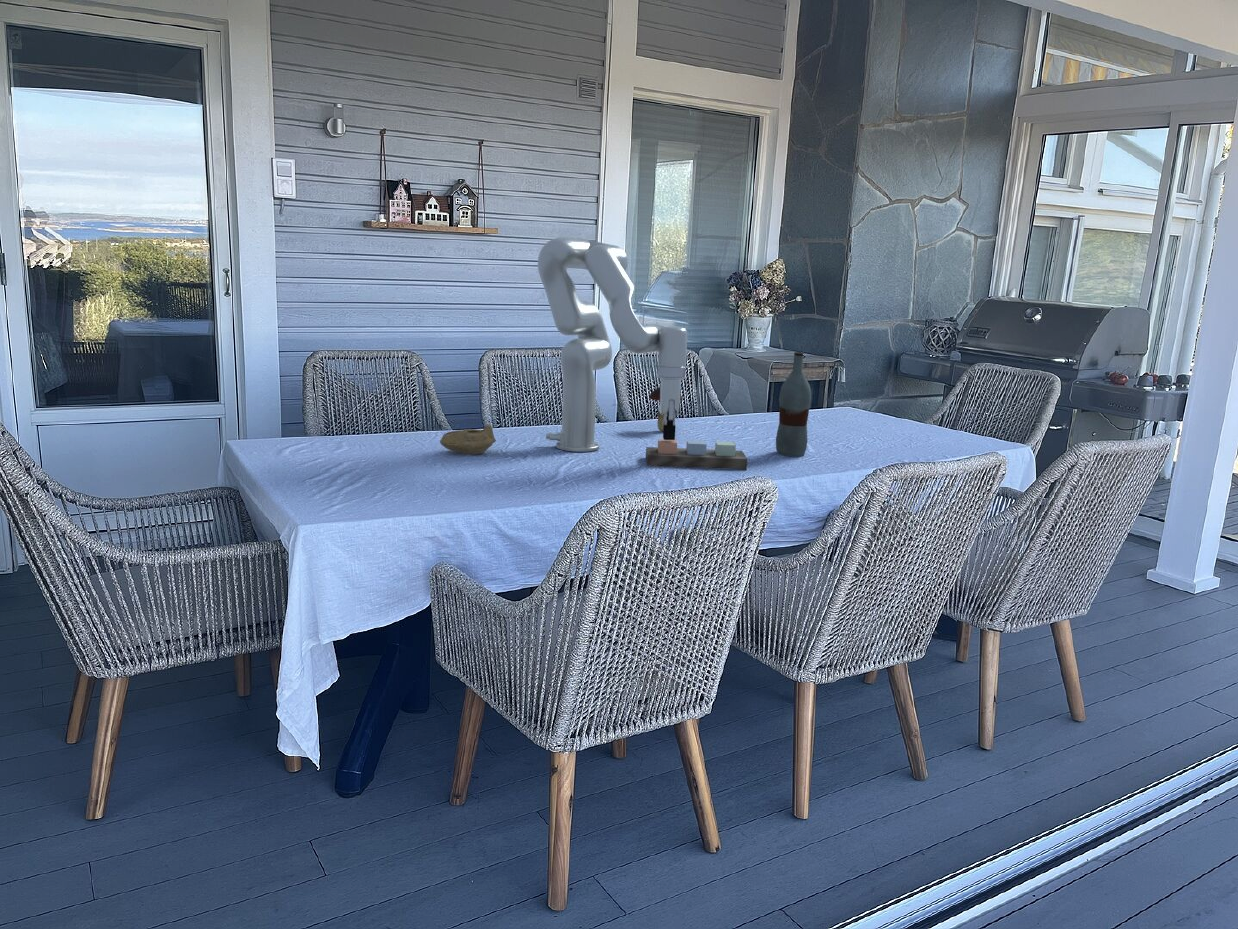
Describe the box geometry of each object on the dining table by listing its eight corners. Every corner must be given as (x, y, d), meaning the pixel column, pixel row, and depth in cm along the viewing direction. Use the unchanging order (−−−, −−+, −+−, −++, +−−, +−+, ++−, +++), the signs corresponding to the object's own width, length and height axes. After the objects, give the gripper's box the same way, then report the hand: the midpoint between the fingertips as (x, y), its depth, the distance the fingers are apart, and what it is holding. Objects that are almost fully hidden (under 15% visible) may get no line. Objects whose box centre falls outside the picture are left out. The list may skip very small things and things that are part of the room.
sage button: (716, 460, 264) (717, 444, 264) (714, 457, 269) (715, 441, 268) (734, 461, 265) (735, 445, 264) (732, 457, 269) (733, 441, 268)
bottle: (768, 452, 286) (776, 351, 280) (785, 449, 293) (793, 350, 286) (795, 458, 280) (804, 354, 273) (812, 454, 287) (821, 353, 280)
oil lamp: (434, 451, 268) (434, 423, 266) (484, 447, 276) (484, 420, 275) (450, 459, 259) (450, 430, 257) (501, 455, 267) (501, 426, 266)
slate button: (687, 459, 264) (688, 443, 263) (685, 455, 269) (686, 440, 268) (705, 460, 264) (706, 444, 263) (703, 456, 269) (704, 440, 268)
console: (647, 465, 261) (647, 455, 261) (645, 457, 272) (646, 446, 272) (746, 469, 262) (747, 458, 261) (741, 461, 273) (742, 450, 272)
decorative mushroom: (648, 427, 319) (651, 382, 316) (682, 429, 317) (684, 384, 314) (645, 433, 308) (647, 386, 305) (679, 435, 307) (682, 388, 304)
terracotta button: (658, 458, 264) (659, 442, 263) (657, 454, 269) (658, 438, 268) (676, 459, 264) (677, 443, 263) (675, 455, 269) (676, 439, 268)
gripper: (656, 369, 269) (653, 434, 273) (659, 375, 254) (656, 444, 258) (683, 370, 269) (680, 434, 273) (687, 376, 254) (684, 444, 258)
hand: (668, 439), depth 265 cm, fingers closed
